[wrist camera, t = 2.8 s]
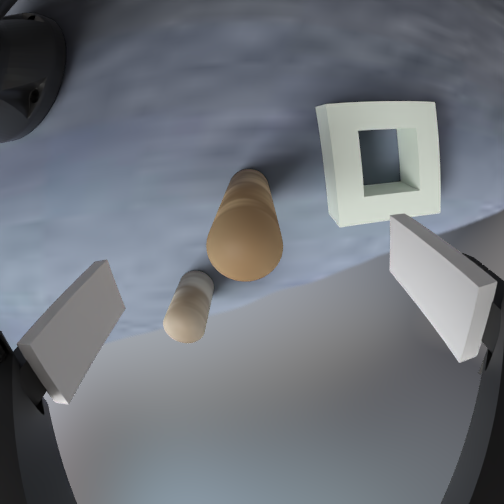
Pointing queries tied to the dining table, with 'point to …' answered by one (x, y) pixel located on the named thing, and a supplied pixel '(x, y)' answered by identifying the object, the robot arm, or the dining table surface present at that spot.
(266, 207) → the long pin
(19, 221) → the dining table surface
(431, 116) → the hole block
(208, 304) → the short pin
